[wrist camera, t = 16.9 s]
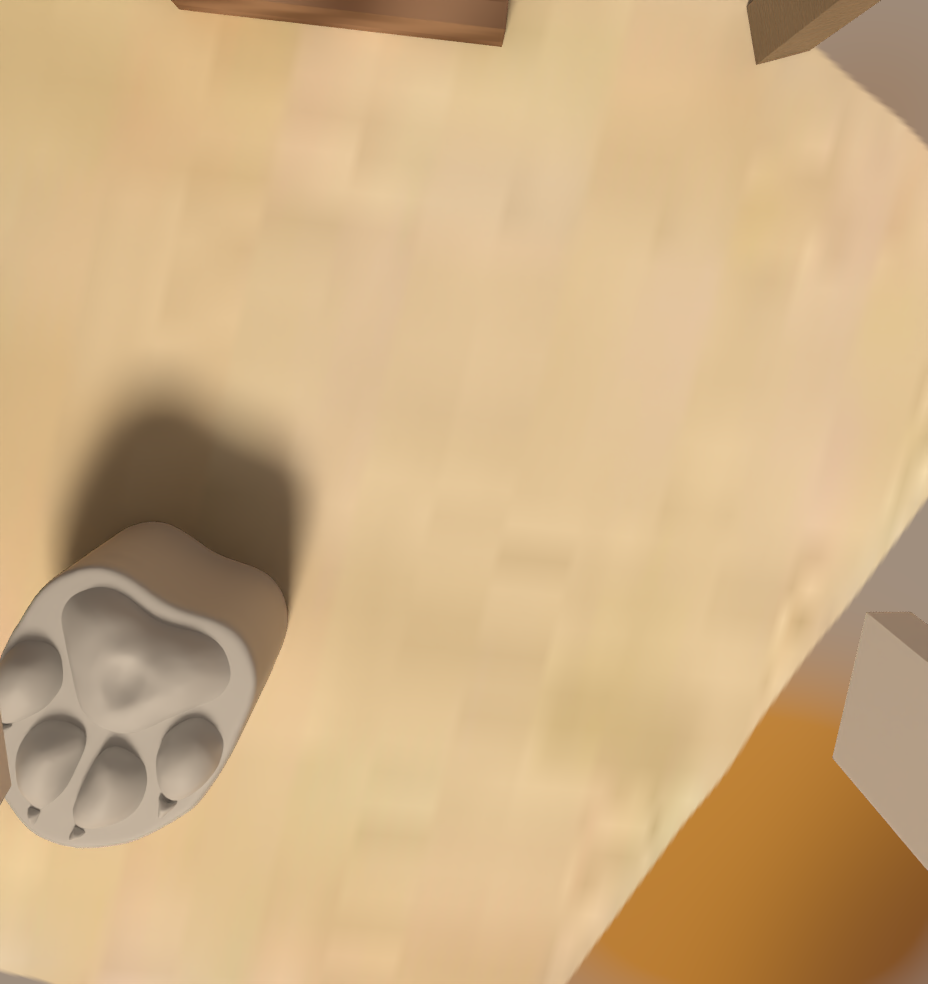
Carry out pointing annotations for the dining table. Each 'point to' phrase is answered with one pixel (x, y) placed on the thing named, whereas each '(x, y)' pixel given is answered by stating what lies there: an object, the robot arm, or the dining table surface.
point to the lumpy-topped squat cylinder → (133, 684)
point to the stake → (798, 24)
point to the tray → (378, 16)
